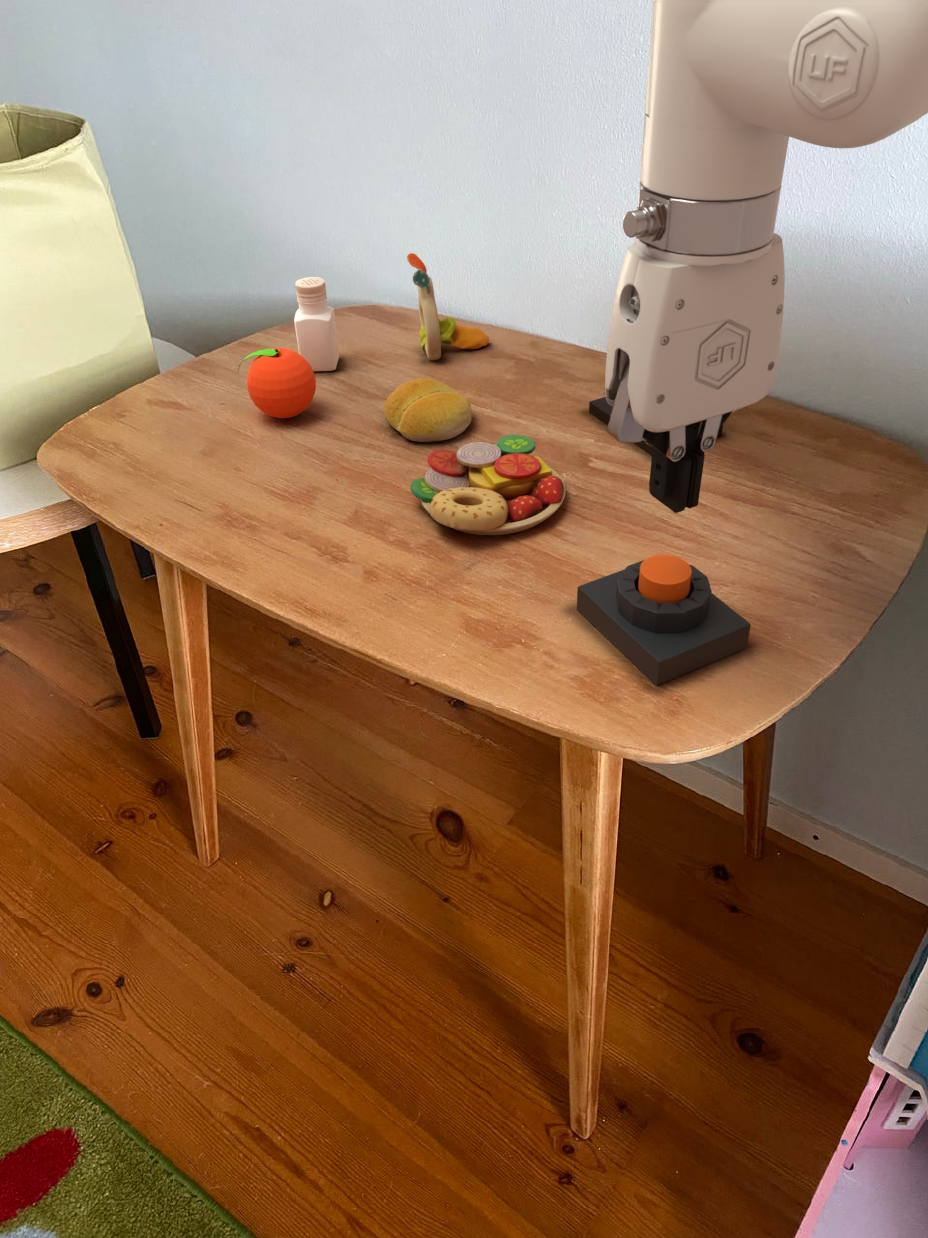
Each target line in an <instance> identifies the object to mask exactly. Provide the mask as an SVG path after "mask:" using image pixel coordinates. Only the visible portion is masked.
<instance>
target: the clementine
mask: <svg viewBox="0 0 928 1238" xmlns="http://www.w3.org/2000/svg"><path fill="white" fill-rule="evenodd" d="M251 357H256V358H255V359H254V360H253V361H252V363H251V364H250V366H249V368H248V372H247V375H246V387H247V392H248V395H249V398H250V399H251V401H252V403H253V404H254V405H255V407H256V408H257V409H259V410H260V411H261V412H262V413H264V414H266V415H268V416H270V417H273V418H275V419H276V418H277V419H289V418H293V417H296V416H298V415H300V414H301V413H303V412H304V411H305V410H307V409H308V407H309V406H310V405H311V404H312V402H313V399H314V397H315V394H316V389H317V379H316V376H315V371H313V369H312V367H311V366H310V364H309V362H308V361H307V360H306V359H305V358H304V357H302V356H301V355H300V354H299V352H297V351H294V350H292V349H290V348H286V347H273V348H265V349H259V350H255V351H254V352H252V353H250V354H248V355H247V356H245V357H244V358H243V360H242V361H241V362H240V363H239V364H238V369H237V374H239V371H240V367H241V364H242V363H243V362H244V361H245V360H247V359H249V358H251Z"/></svg>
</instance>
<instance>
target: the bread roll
mask: <svg viewBox="0 0 928 1238" xmlns="http://www.w3.org/2000/svg"><path fill="white" fill-rule="evenodd" d="M385 400H386V401H385V402H384V405H383V414H384V417H385V419H386V421H387V422H388V424H389V425H390V426H391V427H392V428H393V429H395V430H396V431H398V432H399V433H400V434H401V435H402V436H403V437H404V438H406V439H407V440H409V441H412V442H419V443H422V442H423V443H427V442H428V443H430V442H431V443H432V442H440V441H441V442H442V441H446V440H450V439H453V438H456V437H457V436H460V434H462V433H463V432H464V431H466V430H467V428H468V427H469V426H470V424H471V422H472V419H473V418H472V417H473V416H472V413H473V412H472V406H471V403H470V401H469V400H468V398H467V397H466V396H464V395H463V394H461V393H458V392H455V391H454V390H453V388H451V387H450V386H448V385H447V384H446V383H444V382H442V381H440V380H437V379H434V378H425V377H421V378H416V379H411V380H408V381H407V382H404V383H402V384H401V385H399V386H398V387H397V388H396V389H394V391H392V392H391V393H390V394H389V396H388V397H387V399H385Z"/></svg>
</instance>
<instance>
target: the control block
mask: <svg viewBox="0 0 928 1238" xmlns="http://www.w3.org/2000/svg"><path fill="white" fill-rule="evenodd" d="M644 560H645V559H642V560H639V561H637V562H634V563H632V564H629V565H627V566H626V567H625V568H624V569H622V570H619V571H616V572H614V573H611V574H608V575H604V576H603V577H599V578H597V579H595V580H591V581H589V582H586V583H583V584H581V585H578V586H577V591H576V592H577V593H576V610H577V611H578V613H580V614H581V615H582V616H583V617H584V618H585V619H586V620H587V621H588V622H589V623H590V624H591V625H592V626H593V627H594V628H596V630H597V631H599V632H600V633H601V635H602V636H604V637H605V638H606V639H607V640H608V641H609V642H610V643H611V644H612V645H613V646H614V647H615V648H616V649H617V650H619V652H621V653H622V654H623V656H625V657H626V658H627V659H628V660H629V661H630V662H631V663H632V664H633V665H634V666H635V667H636V668H637V669H638V670H639V671H640V672H641V673H642V674H644V676H646V677H647V678H648V679H649V680H650V681H651V682H652V683H653V684H654V685H655V686H660V685H662V684H665V683H667V682H669V681H671V680H674V679H676V678H678V677H681V676H684V675H686V674H688V673H691V672H693V671H695V670H697V669H700V668H703V667H704V666H707V665H709V664H711V663H714V662H716V661H718V660H721V659H723V658H726V657H728V656H730V655H732V654H735V653H738V652H740V651H742V650H745V649H747V647H748V643H749V637H750V633H751V632H750V631H751V628H752V627H751V626H752V624H751V623H750V622H749V621H747V619H745V618H744V617H743V616H742V615H740V614H739V613H738V612H736V611H735V610H734V609H733V608H732V607H730V606H729V605H728V604H726V602H724V601H723V600H721V599H720V598H719V597H718V596H717V595H715V593H713V592H712V588H711V584H710V580H709V577H708V576H707V575H706V574H705V573H703V572H702V571H700V570H699V569H698V568H697V567H696V566H694V565H692V564H689V563H688V564H689V565H690V567H691V569H692V575H691V582H690V590H689V594H688V596H687V597H686V598H685V599H684V600H682V601H679V602H677V603H659V602H656V601H653V600H649V599H646V598H645V597H643V596H642V595H641V593H640V592H639V589H638V584H639V573H640V566H641V564H642V562H643V561H644Z"/></svg>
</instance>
